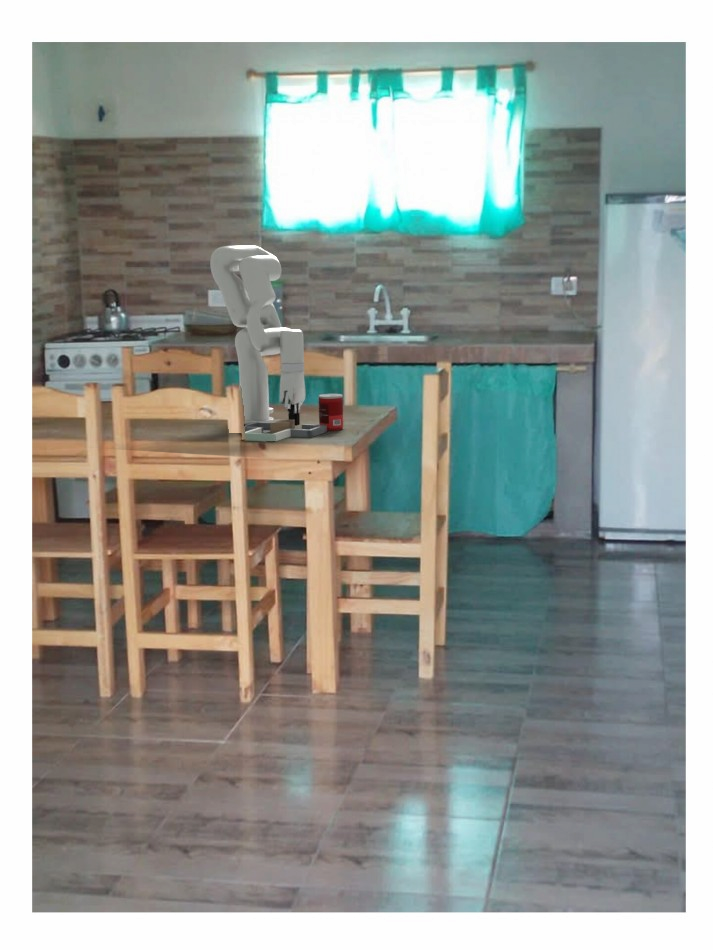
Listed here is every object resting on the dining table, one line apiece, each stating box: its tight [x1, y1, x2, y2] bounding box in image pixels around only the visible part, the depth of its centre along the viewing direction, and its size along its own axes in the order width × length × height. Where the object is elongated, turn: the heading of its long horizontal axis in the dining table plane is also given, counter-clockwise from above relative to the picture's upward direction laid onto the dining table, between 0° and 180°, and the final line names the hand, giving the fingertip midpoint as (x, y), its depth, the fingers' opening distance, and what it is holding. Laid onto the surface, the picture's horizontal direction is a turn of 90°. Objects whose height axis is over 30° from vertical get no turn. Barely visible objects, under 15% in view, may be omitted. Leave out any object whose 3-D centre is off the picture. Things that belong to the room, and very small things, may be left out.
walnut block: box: [269, 419, 296, 434], centre depth 395 cm, size 7×6×4 cm
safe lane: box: [245, 428, 292, 442], centre depth 385 cm, size 11×11×2 cm
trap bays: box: [244, 422, 328, 438], centre depth 395 cm, size 11×25×2 cm, turn 66°
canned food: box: [318, 393, 344, 432], centre depth 401 cm, size 8×8×11 cm
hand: (294, 425), depth 403 cm, fingers closed
